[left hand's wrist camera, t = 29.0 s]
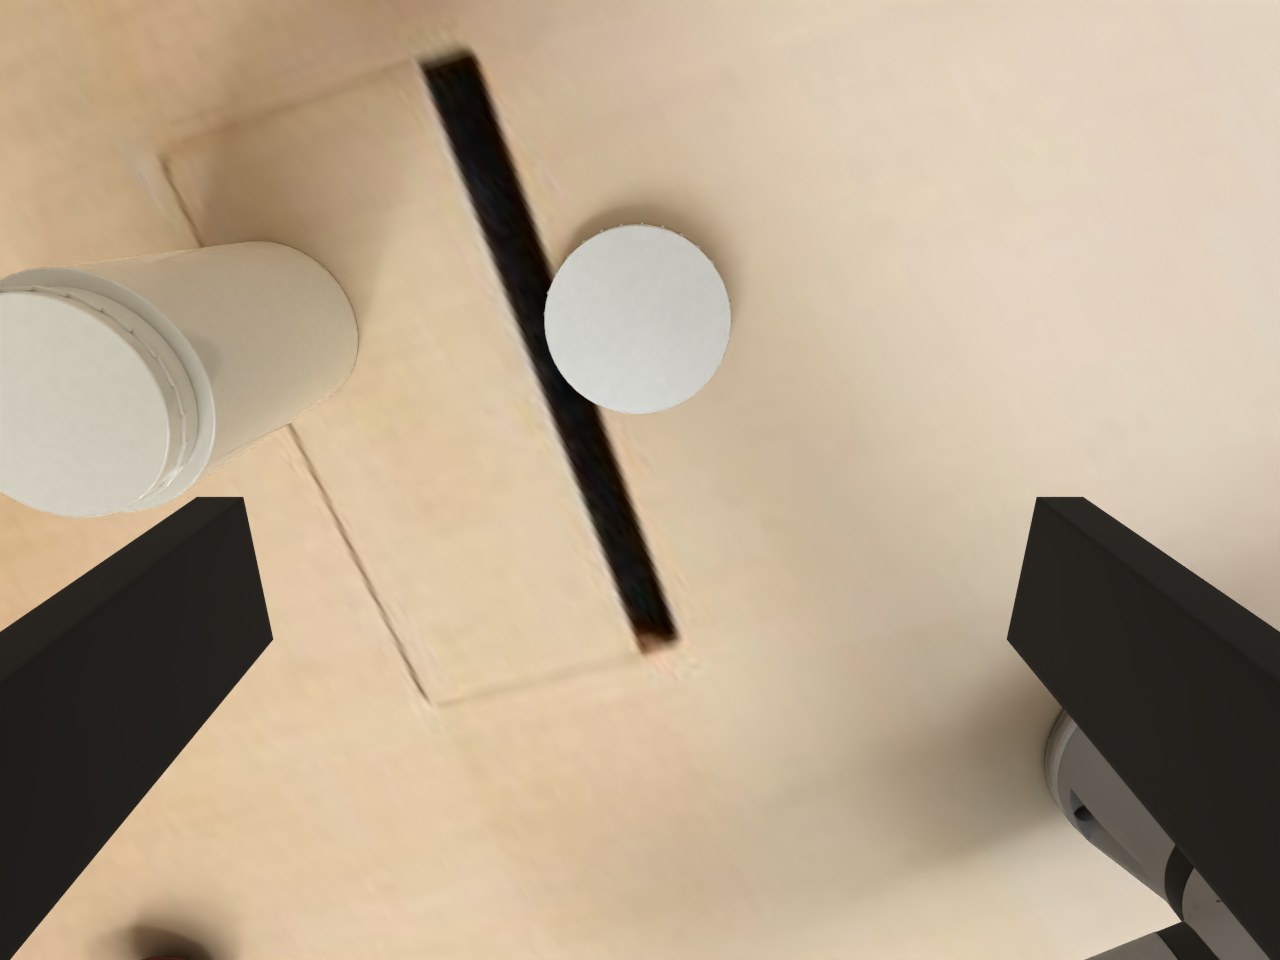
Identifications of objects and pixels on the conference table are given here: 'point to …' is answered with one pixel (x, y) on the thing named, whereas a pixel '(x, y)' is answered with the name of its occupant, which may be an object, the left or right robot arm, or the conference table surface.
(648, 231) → the lid
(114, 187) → the conference table surface
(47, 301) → the jar
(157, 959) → the dark red ball
